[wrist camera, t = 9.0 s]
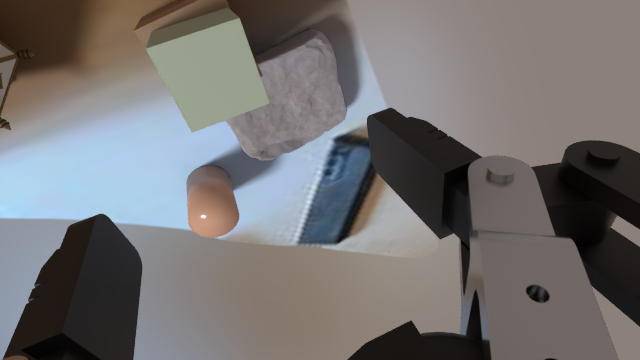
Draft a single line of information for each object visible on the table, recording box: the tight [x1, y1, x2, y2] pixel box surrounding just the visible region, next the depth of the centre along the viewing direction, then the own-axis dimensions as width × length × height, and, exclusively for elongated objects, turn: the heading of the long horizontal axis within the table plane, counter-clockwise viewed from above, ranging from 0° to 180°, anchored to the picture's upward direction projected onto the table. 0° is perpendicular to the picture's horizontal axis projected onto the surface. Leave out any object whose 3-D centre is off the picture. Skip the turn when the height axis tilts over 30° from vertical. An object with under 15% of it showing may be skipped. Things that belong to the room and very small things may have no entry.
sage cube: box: [146, 7, 269, 132], centre depth 20 cm, size 5×5×5 cm
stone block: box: [225, 29, 347, 161], centre depth 31 cm, size 12×5×10 cm
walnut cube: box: [134, 0, 263, 77], centre depth 24 cm, size 6×6×6 cm
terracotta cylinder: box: [186, 165, 239, 237], centre depth 31 cm, size 4×4×6 cm
